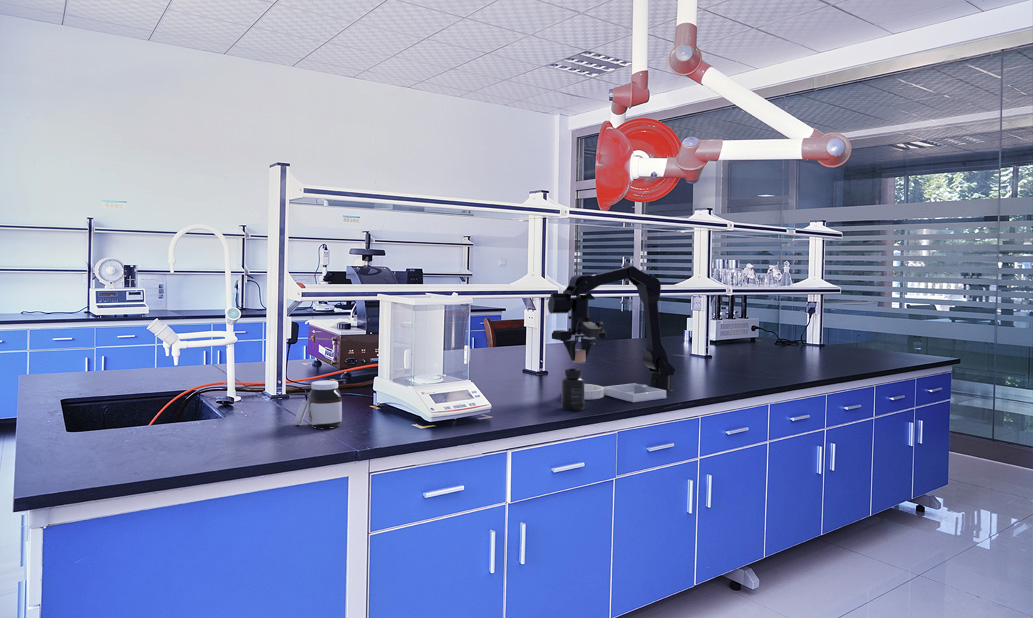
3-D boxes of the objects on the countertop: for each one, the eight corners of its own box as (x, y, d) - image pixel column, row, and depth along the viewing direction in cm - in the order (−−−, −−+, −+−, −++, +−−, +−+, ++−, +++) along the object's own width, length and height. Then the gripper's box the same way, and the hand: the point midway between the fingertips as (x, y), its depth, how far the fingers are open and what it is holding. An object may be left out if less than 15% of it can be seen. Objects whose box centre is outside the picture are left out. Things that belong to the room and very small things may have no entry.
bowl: (586, 392, 227) (586, 382, 227) (611, 398, 216) (611, 388, 215) (554, 395, 220) (555, 386, 220) (579, 402, 209) (579, 392, 208)
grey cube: (641, 395, 218) (641, 383, 218) (650, 398, 214) (650, 386, 214) (631, 397, 215) (631, 385, 215) (640, 399, 212) (640, 387, 212)
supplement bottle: (586, 407, 201) (587, 368, 201) (581, 412, 195) (581, 371, 194) (564, 405, 204) (565, 367, 203) (558, 410, 197) (559, 370, 197)
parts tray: (634, 392, 228) (634, 383, 228) (666, 399, 215) (666, 390, 215) (602, 395, 220) (602, 386, 220) (633, 404, 207) (633, 394, 207)
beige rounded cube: (580, 360, 222) (580, 348, 222) (588, 362, 219) (588, 350, 218) (569, 361, 220) (569, 349, 220) (577, 363, 216) (577, 351, 216)
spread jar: (345, 428, 173) (345, 384, 172) (301, 434, 166) (301, 388, 166) (331, 419, 183) (331, 377, 182) (289, 424, 177) (288, 380, 176)
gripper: (571, 315, 207) (570, 365, 208) (617, 314, 216) (616, 361, 217) (551, 313, 216) (550, 361, 217) (595, 311, 226) (595, 357, 227)
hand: (578, 360), depth 219 cm, fingers closed on beige rounded cube, 4 cm apart
